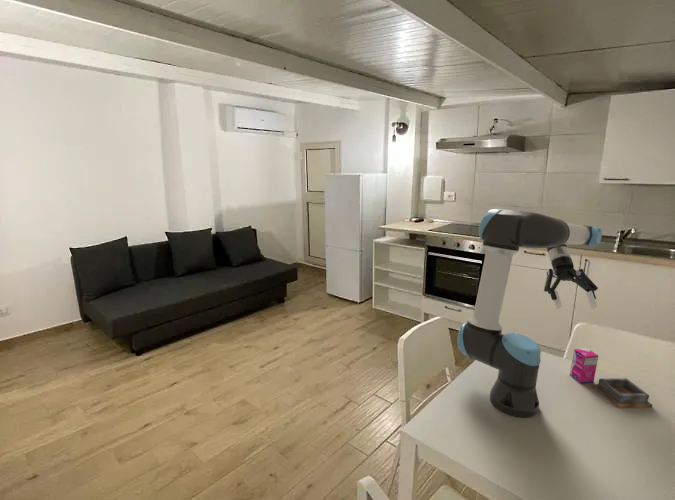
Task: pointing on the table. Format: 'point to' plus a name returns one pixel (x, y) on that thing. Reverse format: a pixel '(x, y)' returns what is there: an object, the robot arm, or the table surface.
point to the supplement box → (583, 365)
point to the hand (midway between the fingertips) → (576, 307)
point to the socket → (623, 393)
